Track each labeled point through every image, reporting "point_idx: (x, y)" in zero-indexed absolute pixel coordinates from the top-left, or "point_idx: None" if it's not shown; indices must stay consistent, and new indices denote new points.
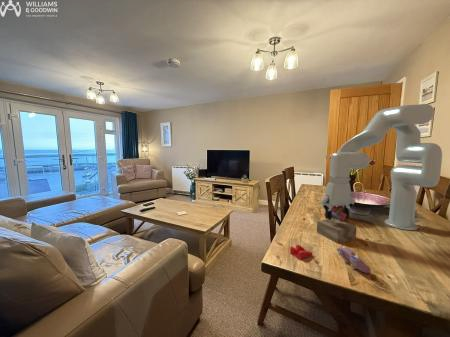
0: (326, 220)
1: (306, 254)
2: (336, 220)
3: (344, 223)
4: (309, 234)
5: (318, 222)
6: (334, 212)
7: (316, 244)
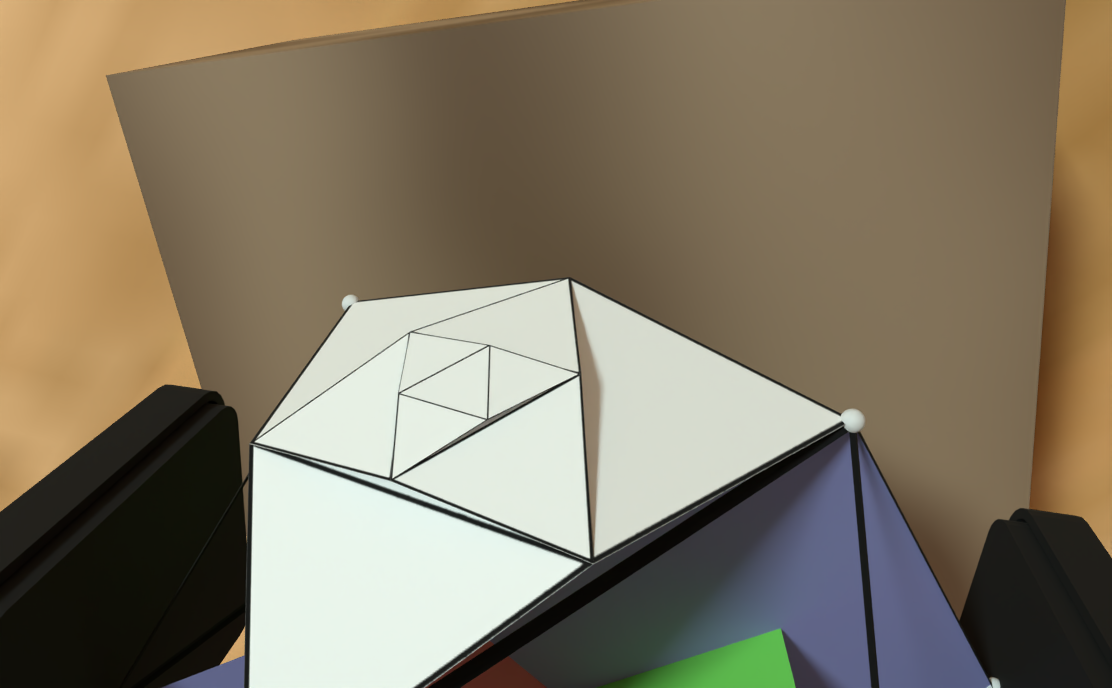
0: (491, 107)
1: None
2: (883, 214)
3: (899, 503)
4: (74, 89)
5: (144, 129)
6: (487, 643)
7: (28, 472)
